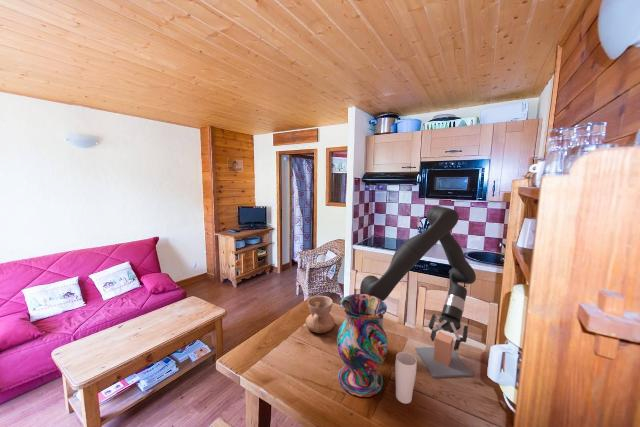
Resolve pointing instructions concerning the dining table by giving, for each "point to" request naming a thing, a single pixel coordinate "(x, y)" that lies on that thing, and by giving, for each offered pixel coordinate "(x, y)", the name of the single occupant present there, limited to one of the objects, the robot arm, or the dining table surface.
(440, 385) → the dining table surface
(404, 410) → the dining table surface
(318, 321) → the ceramic jug
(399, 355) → the drinking glass
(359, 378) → the vase
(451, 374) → the charcoal mat
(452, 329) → the robot arm
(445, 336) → the brick block
